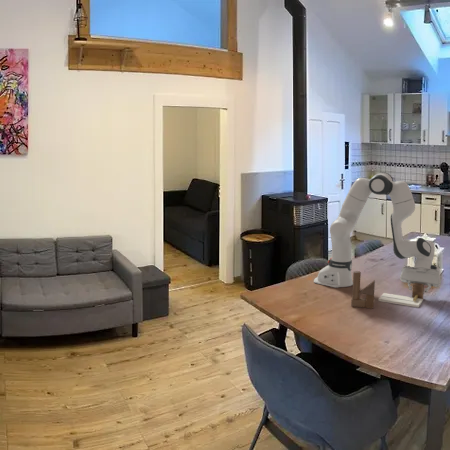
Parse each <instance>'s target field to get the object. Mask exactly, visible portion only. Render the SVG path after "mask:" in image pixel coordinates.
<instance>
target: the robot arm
mask: <svg viewBox="0 0 450 450" xmlns="http://www.w3.org/2000/svg"><path fill="white" fill-rule="evenodd" d="M372 193H373V194H375V195H383V196H385V195H386V196H389V198H390V200H391V204H392V208H393V210H392V213H391V214H390V226H391V233H392V234H391V236H392V240H393V241H392V244H393V245H392V247H393V248H392V250H393V254H394V256H396V257H397V258H398V259H400V260H404V259H408V258H416V259H415V261H414V265H413V266H408V265H407V266H403V267H402V268H401V273H400V276H399V278H400V279H399V280H400V281H401V282H402V283H407V286H408V291H413V284H414V283H419V284H424V286H426V287H424V293H426V294H427V293H428V292H429V290H430V289H431V288H432V287H434V288H435V287H436V288H439V287H440V286H441V279H442V278H441V269H440V267H439V266H437V265H434V264H433V260H434V257H435V252H436V251H435V250H436V247H435V244H434V243H433V242H432V241H430V240H426V239H425V238H423V237H415V238H410V239H404V238H403V229H402V224H403V222H404V221H405V220H406V219H408V218H409V217H410V216H412V215H413V214H414V212H415V209H416V203H415V199H414V197H413V193H412V190H411V189H410V186H409V185H408V183H407V182H406V181H403V180H397V181H394V180H393V177H392V175H391V174H389V173H388V172H384V171H383V172H378V173H376V174H374V175H373V176H371V178H370V179H369V178H365V177H359V178H357V179H356V180H355V181H354V183H353V184H352V185H351V187H350V189H349V190H348V193H347V194H346V196H345V199H344V201H343V203H342V205H341V209H340V211H339V213H338V216H337V218H336V219H335V220H334V221H332V223H331V225H330V227H329V233H330V240H331V257H330V258H329V259H328V260H327V264H328V265H326V266H324V267H322V268H321V269H320V270H319V271H318V274H317V277H315V278H314V279H313V283H315V284H318V285H323V286H327V287H331V288H338V289H339V288H346V287H351V286H353V276H352V267H353V260H352V249H353V248H352V242H351V241H352V240H351V234H352V233H353V231H354V230H355V227H356V225H357V222H358V220H359V218H360V217H361V216H360V215H361V214H362V211H363V209H364V207H365V205H366V204H367V201H368V199H369V197H370V196H371V194H372ZM411 284H412V285H411Z"/></svg>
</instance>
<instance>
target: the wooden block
mask: <svg viewBox="0 0 450 450" xmlns="http://www.w3.org/2000/svg"><path fill="white" fill-rule="evenodd" d="M352 273H353V276H352V281H353V285H352V295H351V297H352V298H351V302H350V305H351V307H357V308H365V309H371V310H372V309H374V306H375V285H376V279H374V280H373V281H371V282H370V283H369V284H367V285H366V286H365V287H364V288H363V289H361V277H362V276H361V274H362V273H361V271H358V270H354V271H353V272H352ZM360 295H365V298H362V297H361V296H360Z"/></svg>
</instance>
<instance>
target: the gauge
mask: <svg viewBox="0 0 450 450" xmlns="http://www.w3.org/2000/svg"><path fill="white" fill-rule="evenodd" d="M411 291H412V292H411V293H412V294H411V297H413V298H414V299H413V301H416V299H417V298H419V299H423V300H424V293H425V292H424V291H425V285H424V284H419V283H414V284H413V283H412V290H411Z"/></svg>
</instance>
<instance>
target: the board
mask: <svg viewBox="0 0 450 450" xmlns="http://www.w3.org/2000/svg"><path fill="white" fill-rule="evenodd" d="M413 299H414V298H413V297H412V296H406V295H399V294H392V293H387V292H383V293H382V294H381V295H380V297H379V298H378V302H380V303H381V302H383V303H388V304H394V305H395V304H396V305H401V306H406V307H413V308H420V306H421V305H422V303H423V301H424V298H423V299H419V298H417V299H416V301H413Z"/></svg>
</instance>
